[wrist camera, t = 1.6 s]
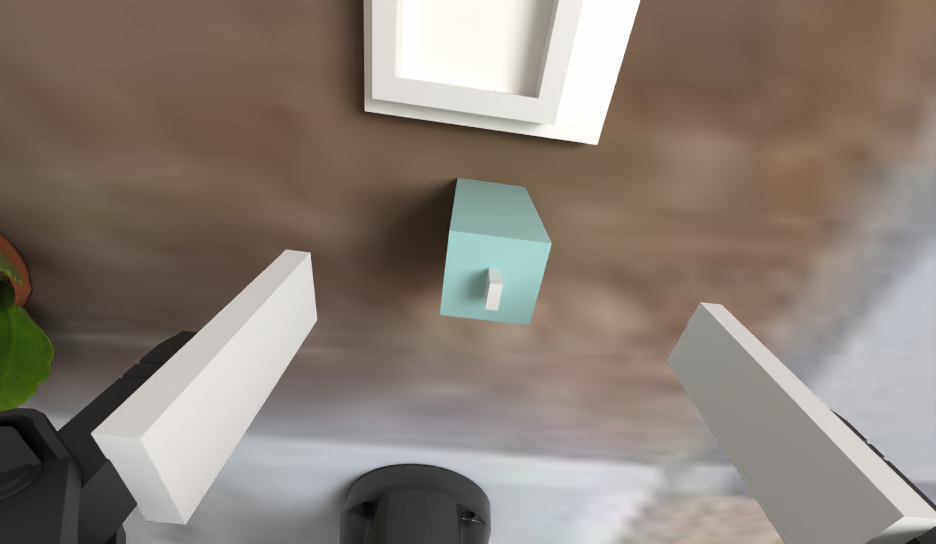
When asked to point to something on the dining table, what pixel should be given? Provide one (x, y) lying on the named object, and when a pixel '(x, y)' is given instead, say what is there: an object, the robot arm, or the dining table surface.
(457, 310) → the block
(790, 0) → the dining table surface
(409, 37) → the outlet plate
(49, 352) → the potted flower
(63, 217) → the dining table surface
